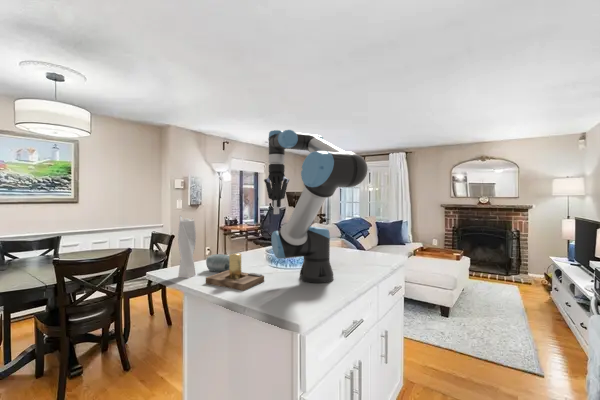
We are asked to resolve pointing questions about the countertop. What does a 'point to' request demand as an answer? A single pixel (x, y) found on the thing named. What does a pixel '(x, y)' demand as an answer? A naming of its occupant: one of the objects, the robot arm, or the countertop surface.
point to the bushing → (235, 266)
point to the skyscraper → (186, 247)
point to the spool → (218, 262)
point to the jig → (235, 280)
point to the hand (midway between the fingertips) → (276, 214)
